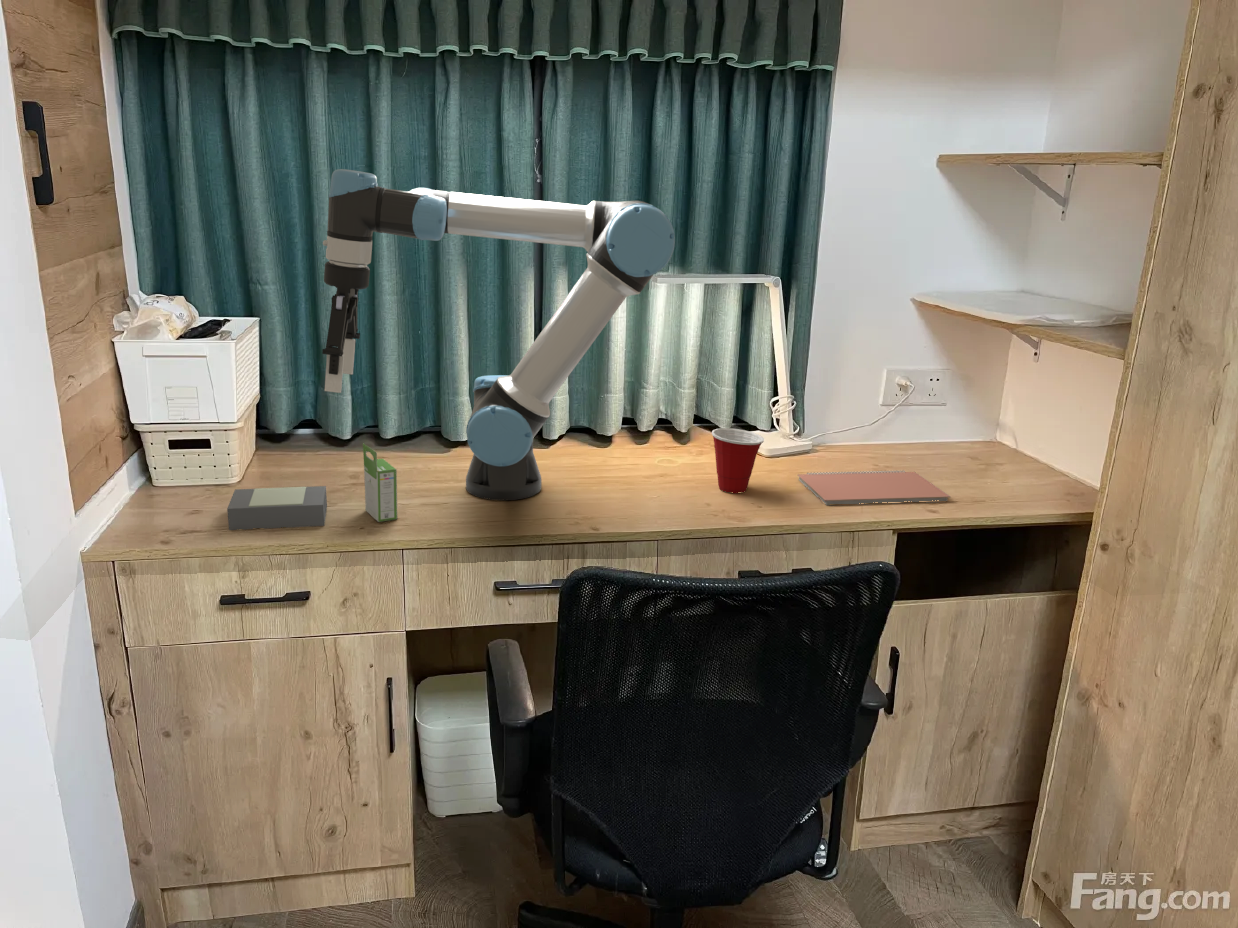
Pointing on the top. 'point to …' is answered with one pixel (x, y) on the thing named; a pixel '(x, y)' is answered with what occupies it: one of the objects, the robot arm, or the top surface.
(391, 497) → the ink box
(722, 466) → the plastic cup
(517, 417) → the robot arm
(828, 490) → the notebook
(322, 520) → the plinth
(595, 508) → the top surface
